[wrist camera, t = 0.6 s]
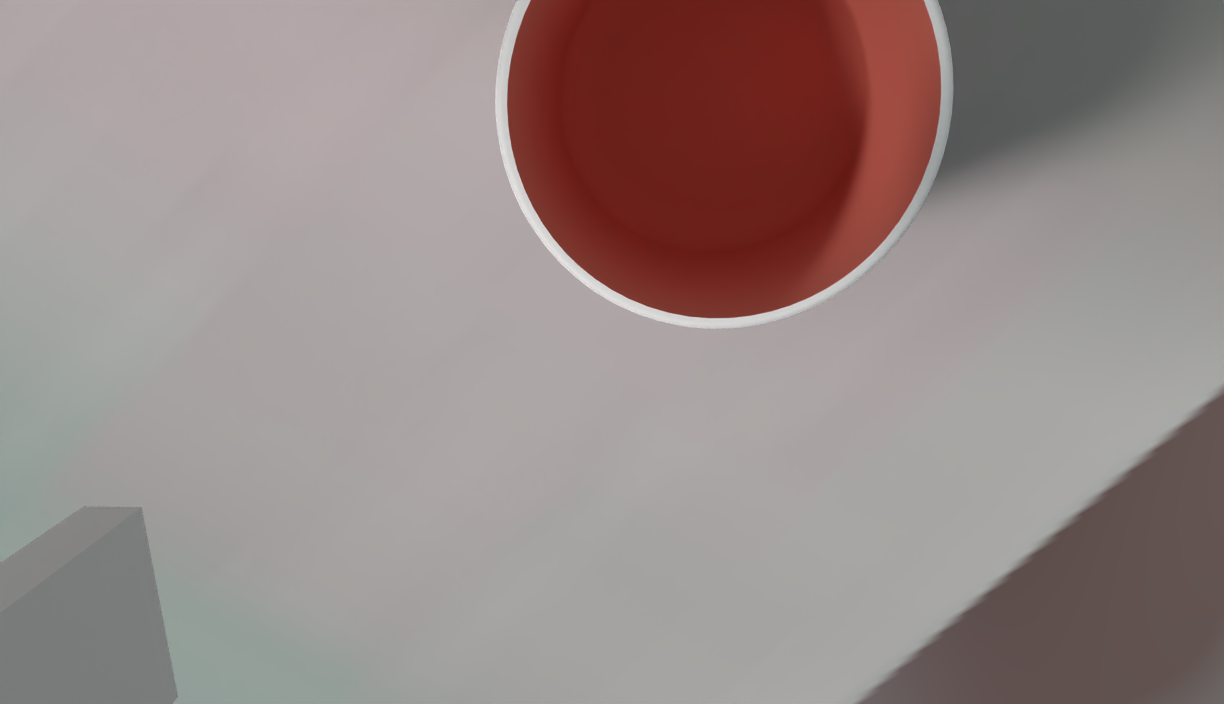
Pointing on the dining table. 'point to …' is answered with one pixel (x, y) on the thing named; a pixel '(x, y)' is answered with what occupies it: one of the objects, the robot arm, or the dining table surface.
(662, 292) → the cup
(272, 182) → the dining table surface
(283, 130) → the dining table surface
